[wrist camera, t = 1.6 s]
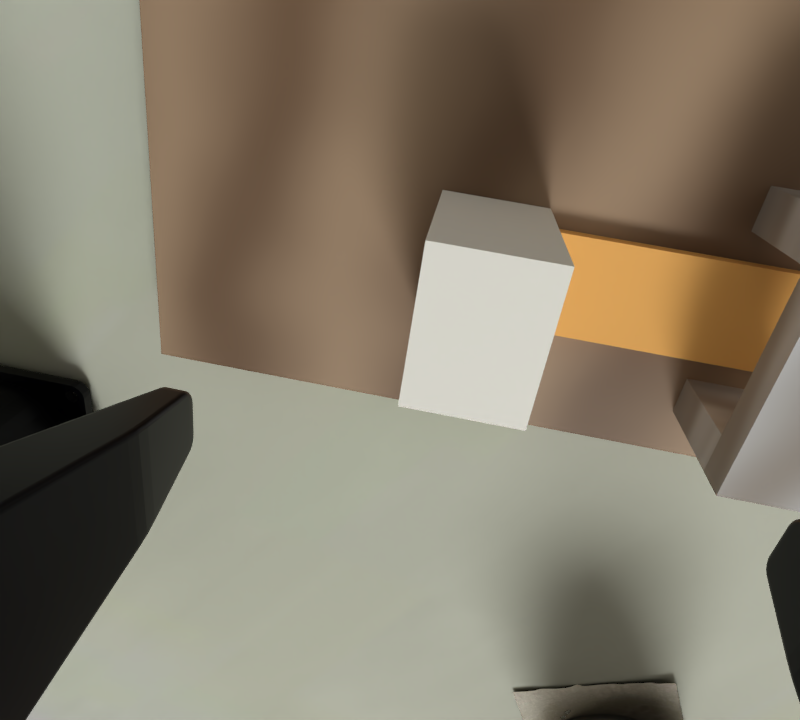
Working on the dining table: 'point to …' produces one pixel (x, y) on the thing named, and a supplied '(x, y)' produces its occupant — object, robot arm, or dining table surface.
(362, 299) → the board
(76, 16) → the dining table surface
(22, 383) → the robot arm
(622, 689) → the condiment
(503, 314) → the bolt
